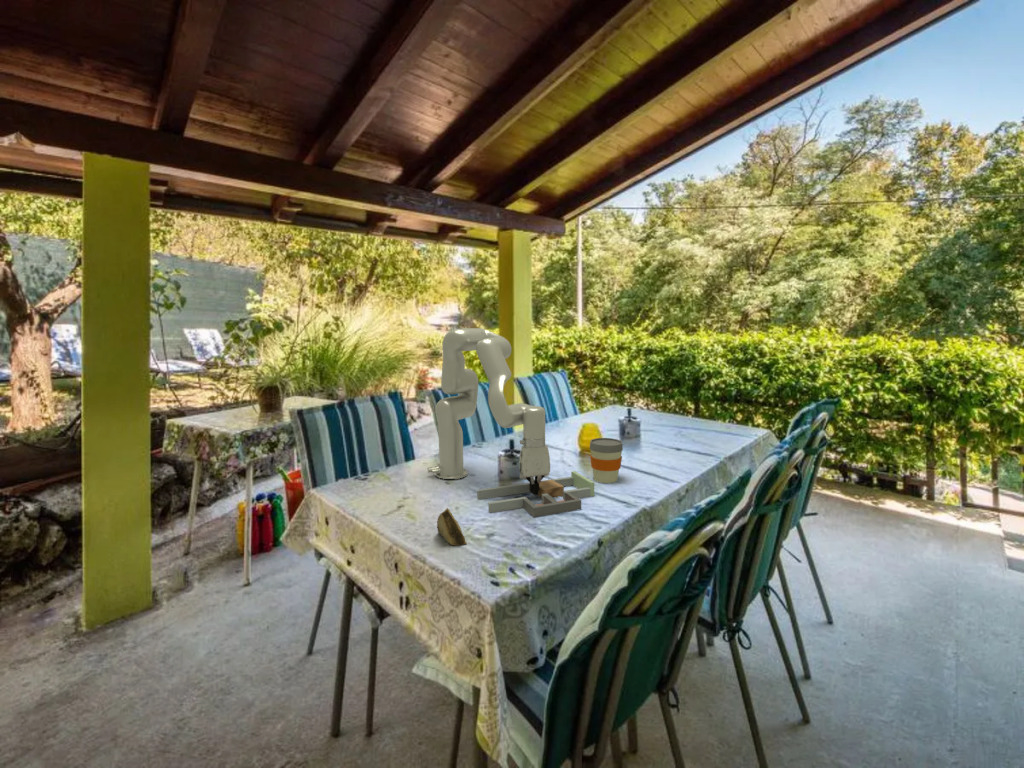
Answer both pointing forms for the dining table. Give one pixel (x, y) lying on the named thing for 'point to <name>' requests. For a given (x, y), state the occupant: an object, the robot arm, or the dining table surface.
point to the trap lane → (549, 502)
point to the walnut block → (550, 488)
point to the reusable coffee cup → (606, 459)
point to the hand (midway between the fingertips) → (534, 493)
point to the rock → (450, 528)
